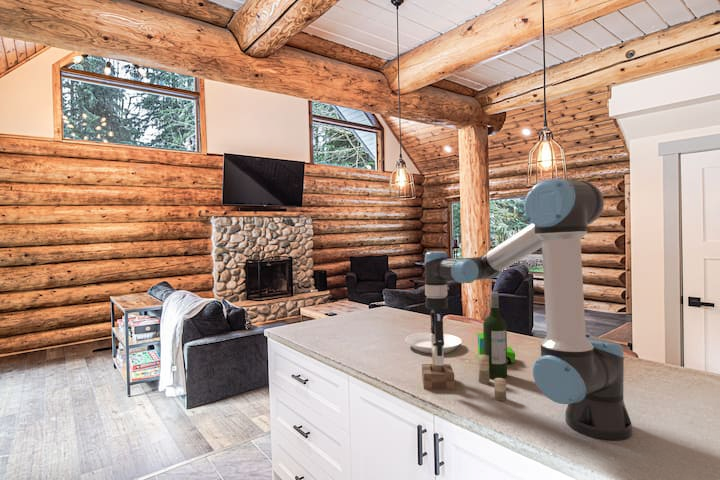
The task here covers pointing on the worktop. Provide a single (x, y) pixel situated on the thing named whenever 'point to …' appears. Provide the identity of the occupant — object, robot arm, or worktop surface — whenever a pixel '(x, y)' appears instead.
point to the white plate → (424, 342)
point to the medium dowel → (484, 369)
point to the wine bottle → (495, 340)
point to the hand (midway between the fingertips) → (437, 358)
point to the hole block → (438, 377)
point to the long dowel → (434, 367)
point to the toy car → (481, 349)
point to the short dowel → (500, 389)
